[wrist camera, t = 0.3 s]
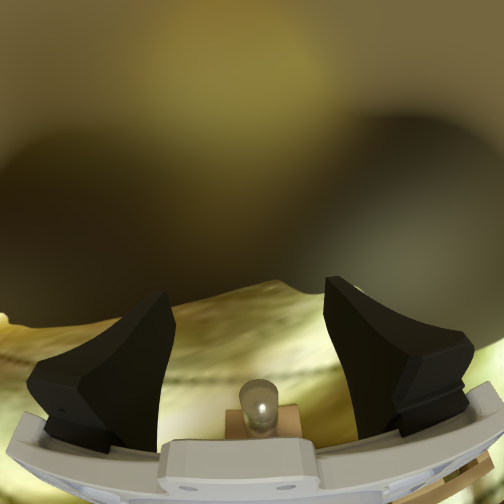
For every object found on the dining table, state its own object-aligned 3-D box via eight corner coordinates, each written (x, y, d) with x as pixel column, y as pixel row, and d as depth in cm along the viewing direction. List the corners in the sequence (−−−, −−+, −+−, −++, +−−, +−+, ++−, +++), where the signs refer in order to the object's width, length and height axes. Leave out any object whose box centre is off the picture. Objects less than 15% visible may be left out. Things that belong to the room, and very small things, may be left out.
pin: (279, 449, 22) (279, 408, 18) (249, 451, 22) (239, 411, 18) (277, 425, 25) (276, 377, 21) (248, 427, 25) (239, 380, 21)
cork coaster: (306, 467, 20) (307, 466, 20) (225, 473, 20) (225, 472, 20) (297, 406, 28) (297, 404, 27) (226, 411, 28) (226, 410, 27)
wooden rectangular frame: (476, 479, 12) (494, 467, 11) (317, 542, 12) (323, 542, 11) (456, 428, 20) (470, 413, 18) (308, 476, 20) (311, 467, 18)
